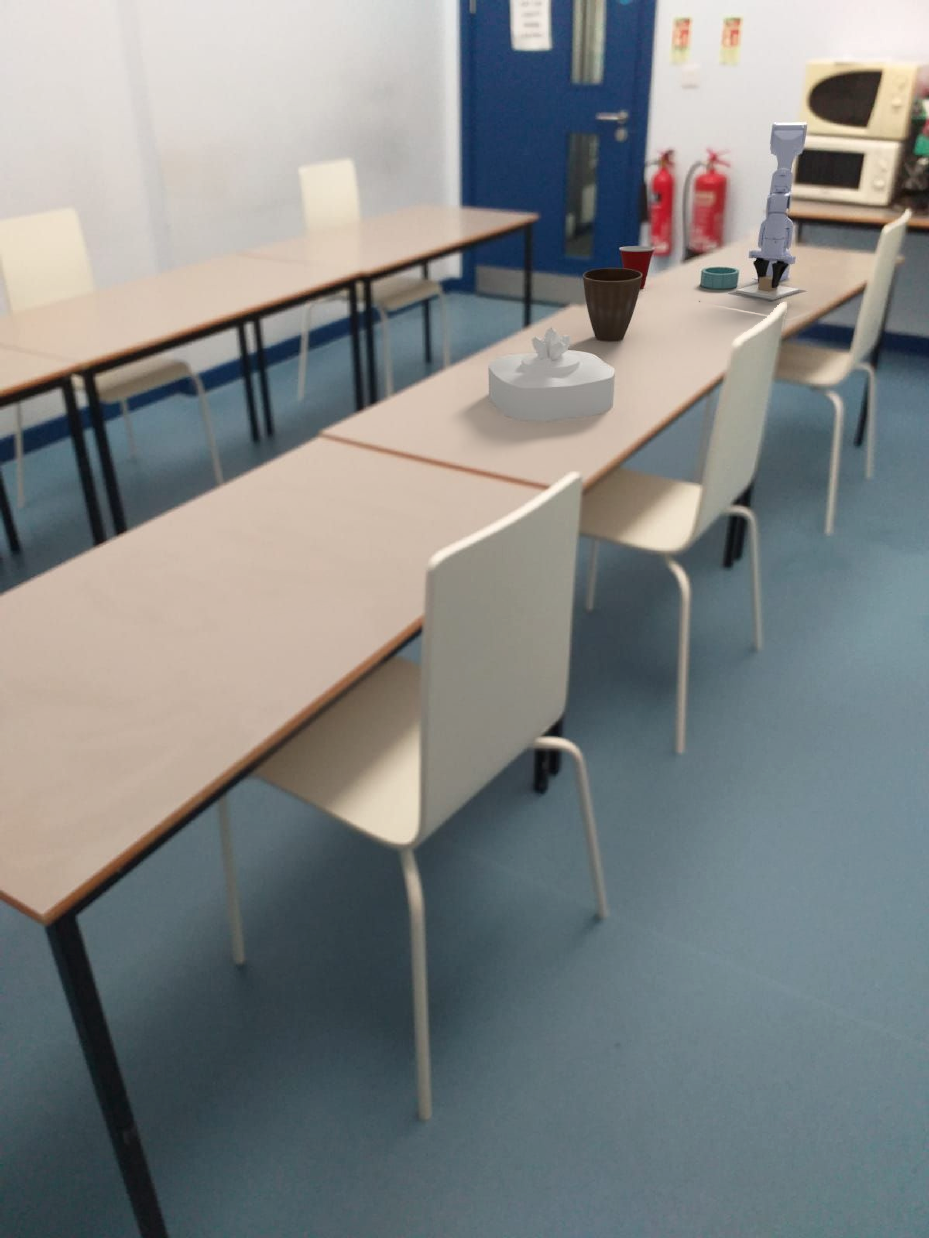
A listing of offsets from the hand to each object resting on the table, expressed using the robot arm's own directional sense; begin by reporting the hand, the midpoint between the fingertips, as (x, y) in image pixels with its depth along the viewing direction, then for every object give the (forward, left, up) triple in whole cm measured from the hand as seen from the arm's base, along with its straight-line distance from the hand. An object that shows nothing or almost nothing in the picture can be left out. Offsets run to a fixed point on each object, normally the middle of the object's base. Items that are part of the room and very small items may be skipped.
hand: (768, 286), depth 287 cm
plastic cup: (+19, -35, -2) cm, 40 cm away
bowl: (+2, -16, -2) cm, 16 cm away
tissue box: (+113, +22, -3) cm, 115 cm away
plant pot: (+67, -2, -2) cm, 67 cm away
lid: (0, 0, -2) cm, 2 cm away
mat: (0, 0, -2) cm, 2 cm away
